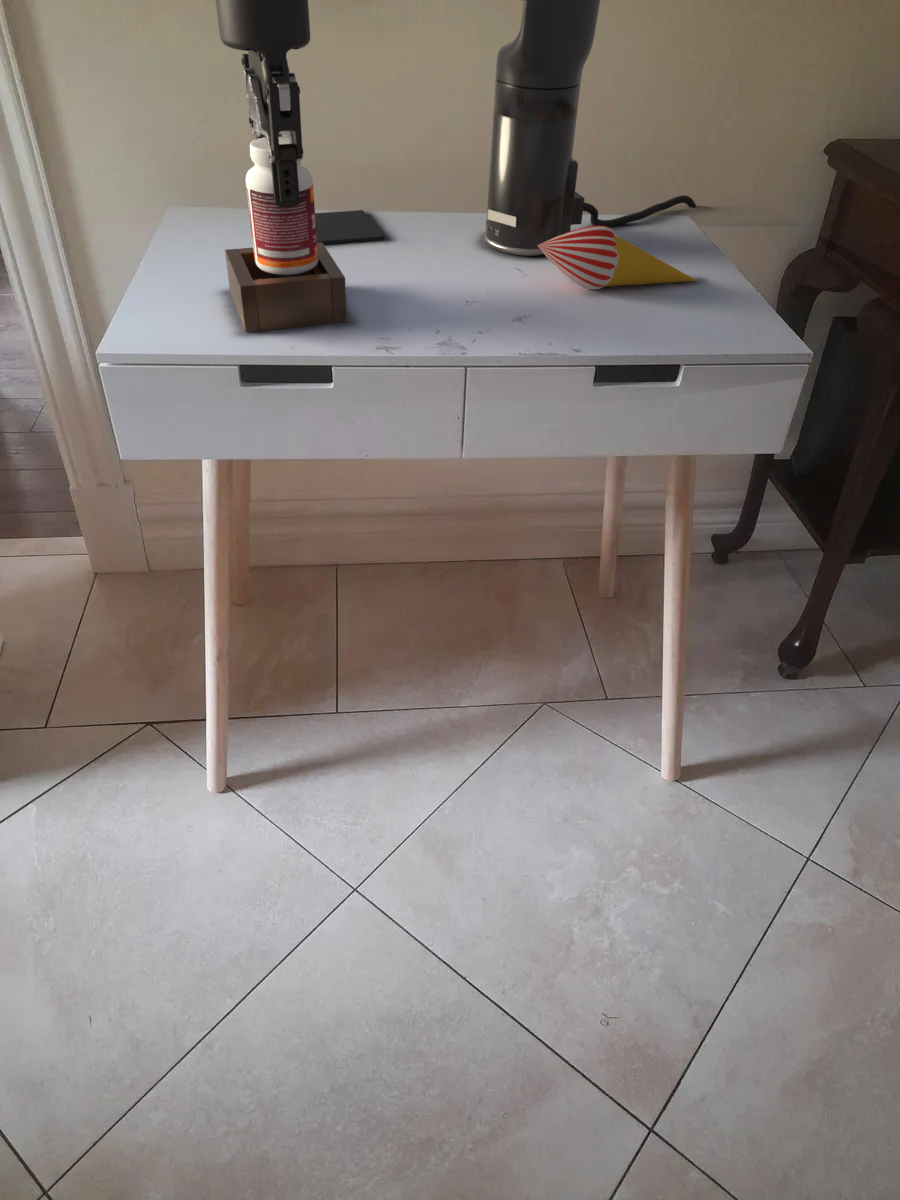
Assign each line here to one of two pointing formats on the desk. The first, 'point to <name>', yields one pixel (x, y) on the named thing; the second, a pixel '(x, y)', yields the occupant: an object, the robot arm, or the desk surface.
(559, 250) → the ice cream cone
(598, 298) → the desk surface
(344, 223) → the coaster
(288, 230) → the pill bottle
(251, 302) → the holder
